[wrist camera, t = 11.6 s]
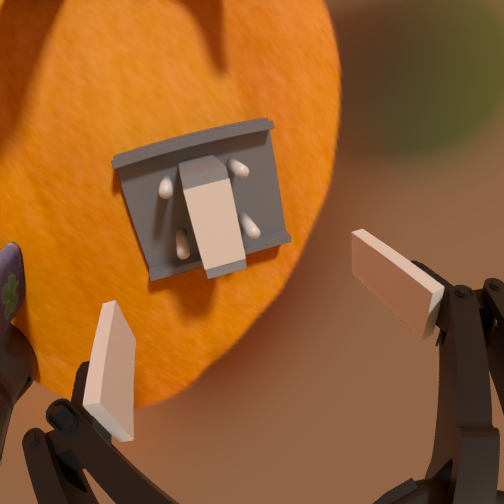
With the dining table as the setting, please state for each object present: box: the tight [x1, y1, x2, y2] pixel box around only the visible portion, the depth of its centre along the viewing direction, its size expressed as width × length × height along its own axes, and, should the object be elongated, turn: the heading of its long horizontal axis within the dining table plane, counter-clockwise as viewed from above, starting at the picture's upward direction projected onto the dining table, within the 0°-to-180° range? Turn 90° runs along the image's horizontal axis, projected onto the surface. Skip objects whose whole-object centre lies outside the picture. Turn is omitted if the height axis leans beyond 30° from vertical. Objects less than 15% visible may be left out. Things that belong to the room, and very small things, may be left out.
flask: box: [0, 242, 26, 340], centre depth 24 cm, size 9×3×11 cm, turn 162°
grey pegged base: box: [111, 118, 291, 281], centre depth 29 cm, size 16×14×6 cm
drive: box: [178, 154, 247, 279], centre depth 28 cm, size 4×9×8 cm, turn 11°
